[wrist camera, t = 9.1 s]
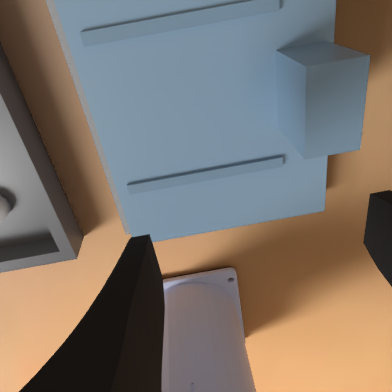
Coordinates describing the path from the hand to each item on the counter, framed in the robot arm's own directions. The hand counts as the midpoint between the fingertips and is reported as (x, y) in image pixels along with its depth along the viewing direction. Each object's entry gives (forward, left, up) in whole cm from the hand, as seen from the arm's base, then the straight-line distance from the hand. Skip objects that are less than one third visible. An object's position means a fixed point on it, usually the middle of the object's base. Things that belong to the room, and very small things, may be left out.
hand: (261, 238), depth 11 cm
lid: (+2, 0, -10) cm, 10 cm away
